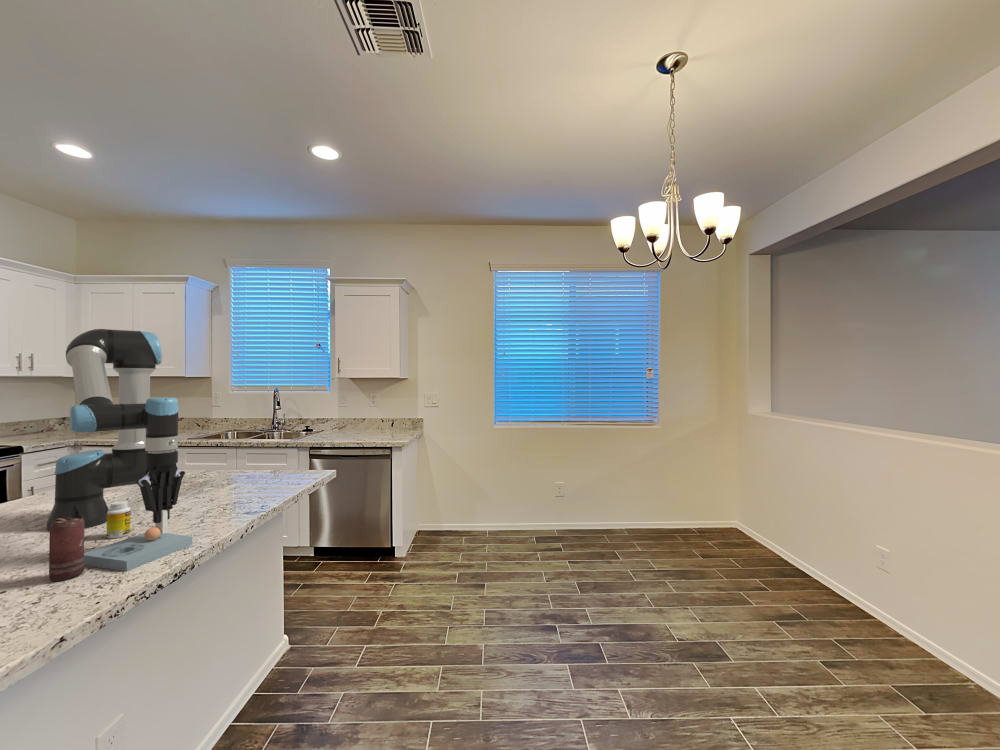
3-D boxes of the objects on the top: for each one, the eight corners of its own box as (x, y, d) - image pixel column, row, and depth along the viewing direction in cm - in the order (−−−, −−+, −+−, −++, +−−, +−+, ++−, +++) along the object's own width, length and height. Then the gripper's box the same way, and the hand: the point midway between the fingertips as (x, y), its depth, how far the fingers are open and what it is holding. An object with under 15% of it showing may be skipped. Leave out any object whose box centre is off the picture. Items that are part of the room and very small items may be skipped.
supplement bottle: (127, 537, 134) (127, 503, 134) (103, 540, 132) (104, 505, 132) (132, 531, 139) (133, 499, 139) (110, 534, 137) (110, 501, 137)
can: (63, 571, 111) (64, 515, 111) (90, 570, 112) (91, 515, 112) (40, 582, 105) (41, 523, 105) (69, 581, 105) (69, 522, 106)
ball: (153, 536, 128) (141, 542, 124) (153, 524, 128) (140, 529, 124) (163, 538, 127) (151, 543, 124) (163, 525, 127) (151, 530, 123)
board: (79, 564, 115) (79, 554, 115) (149, 539, 133) (149, 531, 133) (126, 571, 111) (126, 561, 111) (192, 544, 129) (192, 536, 129)
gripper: (149, 455, 121) (149, 542, 121) (192, 448, 134) (192, 526, 133) (128, 454, 123) (127, 539, 123) (172, 447, 135) (172, 524, 135)
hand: (161, 532), depth 128 cm, fingers closed
